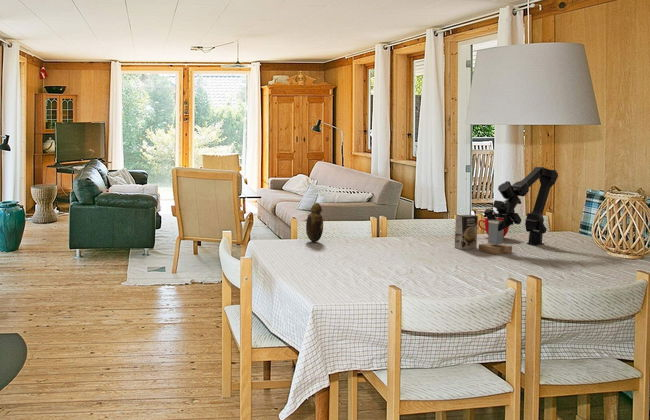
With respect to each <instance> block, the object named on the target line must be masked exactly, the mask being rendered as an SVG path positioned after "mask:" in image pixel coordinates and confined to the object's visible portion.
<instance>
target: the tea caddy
mask: <svg viewBox="0 0 650 420" xmlns="http://www.w3.org/2000/svg"><path fill="white" fill-rule="evenodd" d="M502 222H503V220H496V219H495V220H489V231H488V234H487V240H488V241H487V242H488V243H490V244H496V245H497V244H504V237H503V233H504V229H503V230H501V231H498V229H499V227H500V225H501V223H502ZM488 243H487V244H488Z"/></svg>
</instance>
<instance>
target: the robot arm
mask: <svg viewBox="0 0 650 420" xmlns="http://www.w3.org/2000/svg"><path fill="white" fill-rule="evenodd" d="M558 177H559V173H558V172H557V170H556V169H549V168H546V167H543V166H535V167H534V168H533V170H531V171H530V172H529V173H528V174H527V175H526V176H525V177H524V178H523V179H521V180H519V181H516V182H515V183H513V184H512V183H511V182H510V180H509V181H508V180H506V181H505V182H503V183H501V184H499V185H498V188H497V190H498V191H499V193H500V195H501V196H502V198H503V199H504V201H502V200H497V199H494V202H493V204H492V207H493V208H495V209H496V210H494V209H491V208H486V209H485V210H484V211H483V213H484V215H485V217H486V218H488V219H489V220H495V219H496V220H497V218H503V222H502V223H501V225H500V227H499V229H498V231H501V230H503V229H505V228H506V227H508V226H509V227H510V226H513V225H520V224H521V223H522V218H521V216H520V215H519V213H518V212H516V210H515V208H516V207H517V206H518V205H521V204H522V201H521V200H522V199H521V198H520V197H526V195H527V194H528V193H529V192H530V187H531V186H533V184H535V183H536V182H537V181H539V184H540V186H539V189H538V193H537V196H536V200H535V202H534V206H533V209H532V211H531V212H530V213H529V212H528V213H527V214H526V217H525V220H524V221H525V223H524V226H525V230H526V232H529V234H528V242H526V244H527V245H532V246H543V245H545V243H544V242H543V235H544V234H545V233H546V232H547V227H546V226H545V224H544V222H545V219H544V215H543V213H544V209H545V207H546V203H547V199H548V197H549V193H550V190H551V188H552V187H553V186H554V185H555V184H556V182H557V180H558ZM546 234H547V233H546Z"/></svg>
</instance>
